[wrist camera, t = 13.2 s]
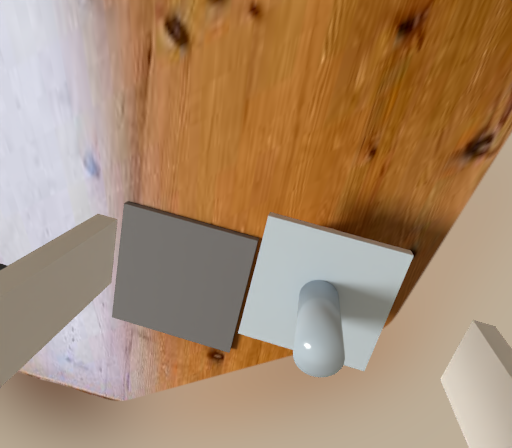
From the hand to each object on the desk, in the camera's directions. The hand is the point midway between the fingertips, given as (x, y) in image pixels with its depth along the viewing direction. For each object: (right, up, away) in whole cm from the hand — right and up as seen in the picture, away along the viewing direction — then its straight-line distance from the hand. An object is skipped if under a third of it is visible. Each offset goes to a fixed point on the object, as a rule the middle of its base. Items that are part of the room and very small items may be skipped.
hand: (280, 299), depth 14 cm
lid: (+6, -4, +25) cm, 26 cm away
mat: (-11, -5, +38) cm, 40 cm away
